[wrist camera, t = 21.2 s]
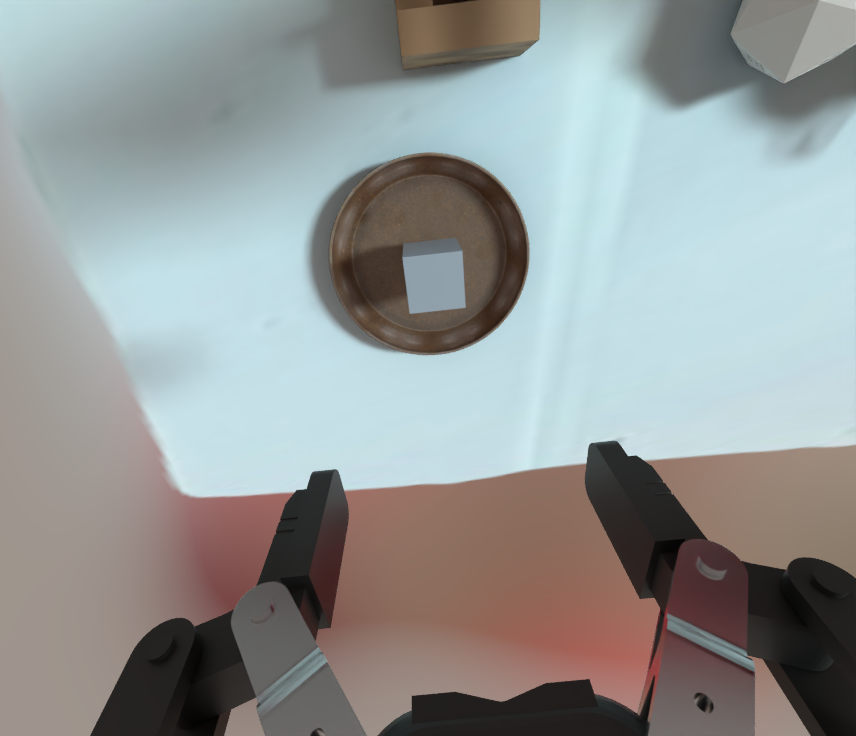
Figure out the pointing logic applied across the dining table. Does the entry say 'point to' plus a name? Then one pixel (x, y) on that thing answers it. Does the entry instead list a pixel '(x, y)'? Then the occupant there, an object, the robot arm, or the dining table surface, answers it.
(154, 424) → the dining table surface
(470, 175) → the plant saucer
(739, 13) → the die
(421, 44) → the bore block
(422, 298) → the slate block
